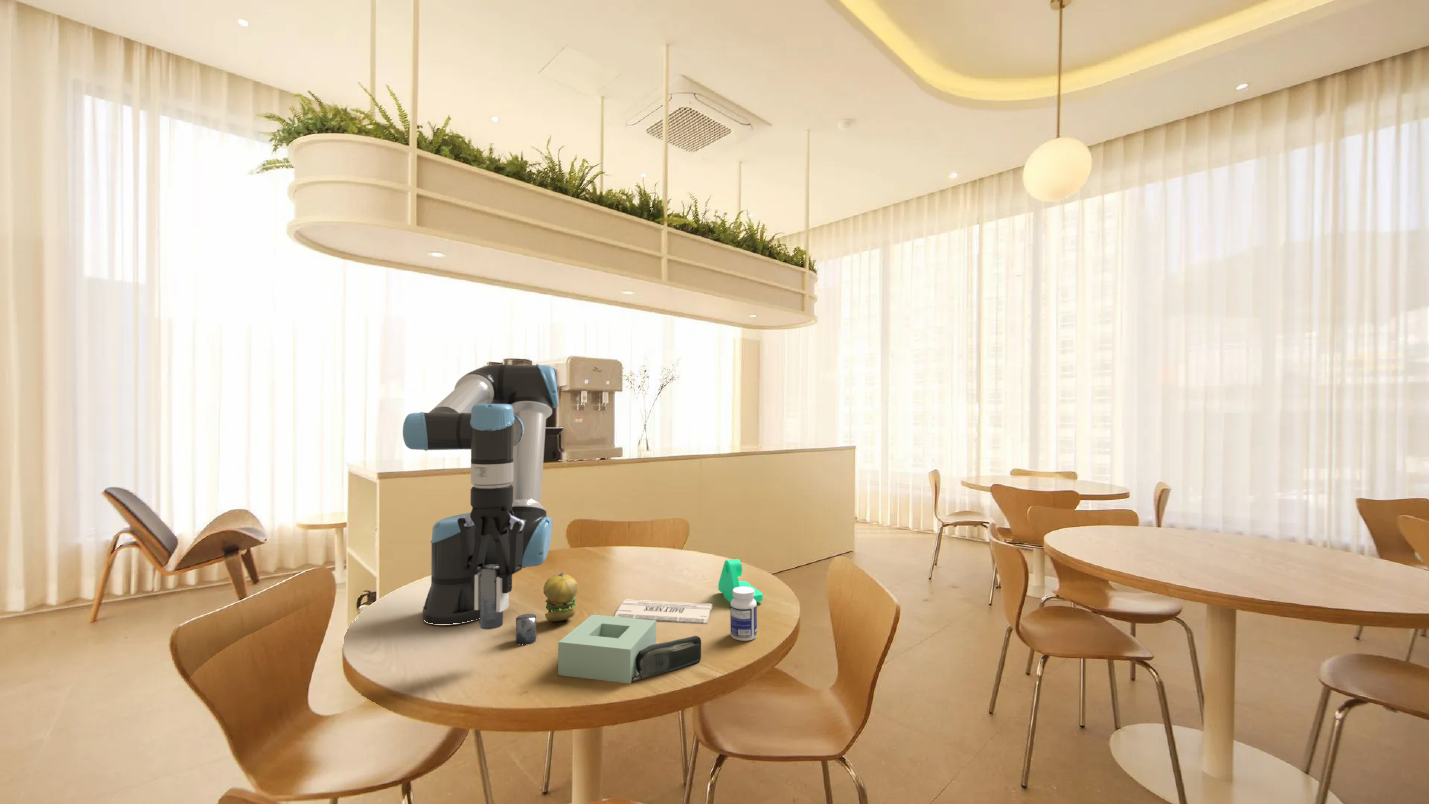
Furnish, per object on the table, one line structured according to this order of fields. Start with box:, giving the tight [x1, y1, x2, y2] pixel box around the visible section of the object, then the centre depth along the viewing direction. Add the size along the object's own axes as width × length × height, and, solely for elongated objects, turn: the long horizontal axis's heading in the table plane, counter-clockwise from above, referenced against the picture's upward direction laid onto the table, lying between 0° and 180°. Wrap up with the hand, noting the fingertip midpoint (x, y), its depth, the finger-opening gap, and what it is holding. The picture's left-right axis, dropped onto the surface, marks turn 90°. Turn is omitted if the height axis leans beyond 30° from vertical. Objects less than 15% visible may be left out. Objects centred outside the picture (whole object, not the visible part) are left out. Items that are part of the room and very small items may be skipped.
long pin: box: [479, 564, 504, 631], centre depth 105 cm, size 4×4×11 cm
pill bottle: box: [729, 587, 758, 642], centre depth 119 cm, size 6×6×10 cm
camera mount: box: [717, 558, 764, 604], centre depth 143 cm, size 12×8×10 cm, turn 21°
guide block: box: [557, 614, 657, 685], centre depth 106 cm, size 14×14×6 cm
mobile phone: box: [632, 635, 702, 682], centre depth 103 cm, size 5×3×15 cm
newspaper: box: [614, 598, 714, 625], centre depth 133 cm, size 23×12×2 cm, turn 83°
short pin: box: [515, 613, 537, 646], centre depth 116 cm, size 4×4×5 cm
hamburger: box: [543, 571, 579, 622], centre depth 126 cm, size 8×7×12 cm
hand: (491, 608), depth 105 cm, fingers closed on long pin, 4 cm apart
